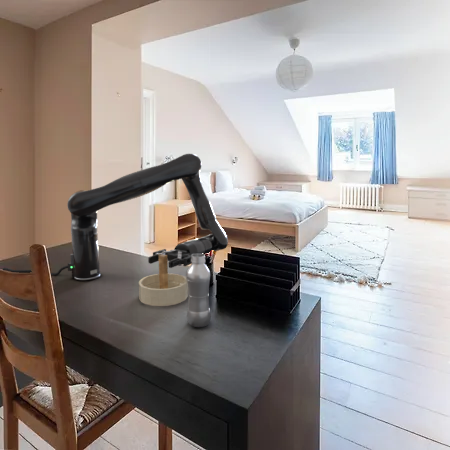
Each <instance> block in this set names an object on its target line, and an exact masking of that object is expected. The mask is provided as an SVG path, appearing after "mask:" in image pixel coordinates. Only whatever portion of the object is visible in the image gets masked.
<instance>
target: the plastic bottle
mask: <svg viewBox="0 0 450 450" xmlns="http://www.w3.org/2000/svg"><path fill="white" fill-rule="evenodd" d="M191 262H192V264H190V265H189V266H188V268H187V270H186V273H185V277H186V278H187V284H188V302H187V303H188V304H187V311H186V320H187V323H188V324H189V326H191V327H193V328H204V327H207V326H209V324H210V323H211V318H212V312H211V308H210V299H209V296H210V295H209V292H210V290H209V289H210V281H211V271H210V268H208V266H207V264H206V256H205V255H204V254H192V256H191Z"/></svg>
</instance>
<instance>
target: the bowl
mask: <svg viewBox="0 0 450 450" xmlns="http://www.w3.org/2000/svg"><path fill="white" fill-rule="evenodd" d="M138 298H139V299H138V300H139V301H140V302H141V303H142V304H144V305H146V306H150V307H170V306H175V305H178V304H181V303H183V302H184V301H186V300H187V299H188V298H189V293H188V284H187V278H186V275H182V274H180V273H179V274H178V273H171V272H168V288H167V289H160V285H159V273H154V274H150V275H146V276H144V277H142V278H141V279H140V280H139V281H138Z"/></svg>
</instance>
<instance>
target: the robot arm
mask: <svg viewBox="0 0 450 450" xmlns="http://www.w3.org/2000/svg"><path fill="white" fill-rule="evenodd" d="M201 171H202V160H201V159H200V157H199V155H197V154H194V153H185V154H182V155H179V156H178V157H176V158H174V159H172V160H169V161H167V162H164V163H162V164H159V165H153V166H151V167H146V168H144V169H140V170H137V171H134V172H131V173H127V174H125V175H123V176H121V177H118V178H116V179H114V180H112V181H111V182H109V183H107V184H105V185H102V186H99V187H96V188H93V189H88V190H85V189H81V190H80V189H79V190H77V191H76V192H75V191H74V193H72V194H71V195H70V196H69V198H68V200H67V203H66V204H67V205H66V206H67V209H68V211H69V213H70V218H71V220H70V221H71V222H70V236H71V248H72V253H70V262H68V263H67V265H65V266H62V267H60V268H59V269H58V271H57V272H50V273H51V275H50V276H58V275H60V274H61V273H62V271H64V270H65V269H67V271H68V272H71V279H73V280H76V281H78V282H79V281H80V282H81V281H82V282H85V281H93V280H96V279H98V278H100V277H101V270H100V269H101V268H100V267H101V266H100V250H99V235H98V211H99V210H102V209H104V208H106V207H109V206H111V205H115V204H119V203H123V202H126V201H130V200H133V199H137V198H141V197H142V196H146V195H148V194H150V193H152V192H154V191H157V190H158V189H160V188H162V187H163V186H165V185H167V184H169V183H172V182H176V181H178V180H181V181H182V182H183V184H184V185H185V188H186V190H187V193H188V195H189V197H190V198H189V199H190V201H191V204H192V207H193V210H194V213H195V216H196V219H197V222H198V225H199V227H200V229H201V230H204V231H205V230H206V231H207V230H208V231H209V232H210V234H208V235H205V236H204V235H203V236H202V237H199V238H195V239H190V240H187V241H184V242H181V243H178V244H176V245H175V247H174V248H173V249H170V250H167V249H166V248H163V249H160V250H156V251H153V252H152V255H151V256H148V258H147V260H148V261H147V262H148V264H154V263H157V262H159V255H162V254H164V255H167V263H168V269H173V268H175V267H177V266H178V267H180V266H183V267H187V266H188V267H189V266H191V264H192V262H191V256H192V254H202V253H209V252H210V251H211V250H214V251H215V252H218V251H222V250H225V249H226V248H228V245H229V239H228V235H227V234H226V232H225V230H224V229H223V228H222V226H221V225H220V223H219V222H218V220H217V217H216V214H215V211H214V209H213V206H212V204H211V201H210V200H209V198H208V196H207V194H206V192H205V189H204V187H203V183H202V180H201V175H200V172H201ZM209 254H210V253H209ZM1 269H3V271H8V272H10V271H11V272H12V273H32V272H31V270H32V269H13V268H9V267H2V268H1ZM11 272H10V273H11Z"/></svg>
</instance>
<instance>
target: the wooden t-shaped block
mask: <svg viewBox="0 0 450 450" xmlns="http://www.w3.org/2000/svg"><path fill="white" fill-rule="evenodd" d="M168 269H169V262H167V255H164V254H162V255H159V261H158V274H159V285H160V289H167V288H168V273H169V271H168Z"/></svg>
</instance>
